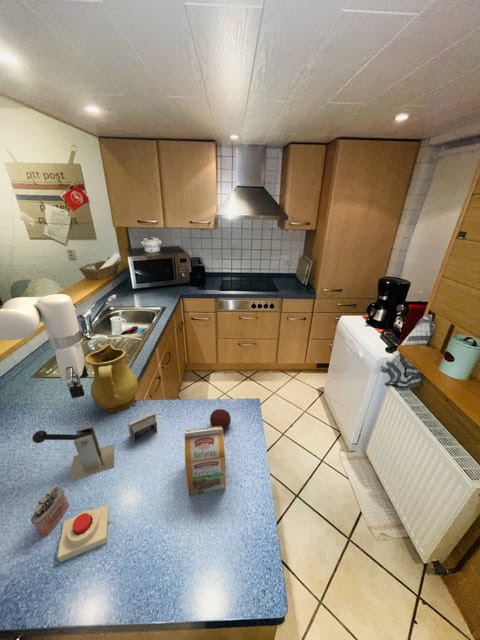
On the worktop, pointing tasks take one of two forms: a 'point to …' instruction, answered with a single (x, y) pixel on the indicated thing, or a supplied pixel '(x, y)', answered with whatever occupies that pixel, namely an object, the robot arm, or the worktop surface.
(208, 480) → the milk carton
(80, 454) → the bracket
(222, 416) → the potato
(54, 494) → the lighter
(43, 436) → the lever
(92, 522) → the control box
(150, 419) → the electrical switch
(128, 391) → the pitcher
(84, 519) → the button
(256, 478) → the worktop surface
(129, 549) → the worktop surface
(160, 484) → the worktop surface
